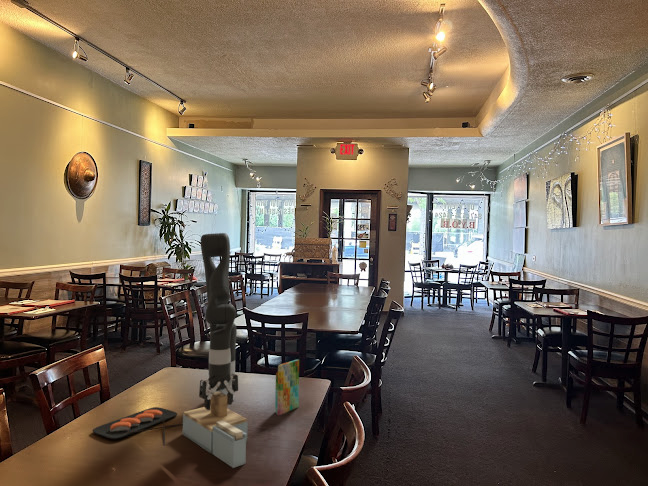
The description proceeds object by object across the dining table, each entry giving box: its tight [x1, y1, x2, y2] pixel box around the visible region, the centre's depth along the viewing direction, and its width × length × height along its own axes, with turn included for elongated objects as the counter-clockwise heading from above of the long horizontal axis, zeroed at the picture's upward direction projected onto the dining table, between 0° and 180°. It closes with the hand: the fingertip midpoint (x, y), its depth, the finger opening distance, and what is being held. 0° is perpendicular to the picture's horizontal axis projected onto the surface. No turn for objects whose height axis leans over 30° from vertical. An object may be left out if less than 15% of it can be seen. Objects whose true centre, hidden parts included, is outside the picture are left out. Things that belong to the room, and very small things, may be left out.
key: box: [216, 420, 243, 440], centre depth 149 cm, size 12×2×2 cm, turn 43°
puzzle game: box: [274, 359, 300, 416], centre depth 193 cm, size 12×5×20 cm, turn 144°
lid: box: [183, 391, 248, 432], centre depth 164 cm, size 20×14×8 cm
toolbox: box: [182, 414, 249, 469], centre depth 160 cm, size 33×14×9 cm, turn 43°
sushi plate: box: [92, 406, 183, 446], centre depth 171 cm, size 29×30×4 cm
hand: (218, 406), depth 165 cm, fingers open, 8 cm apart
